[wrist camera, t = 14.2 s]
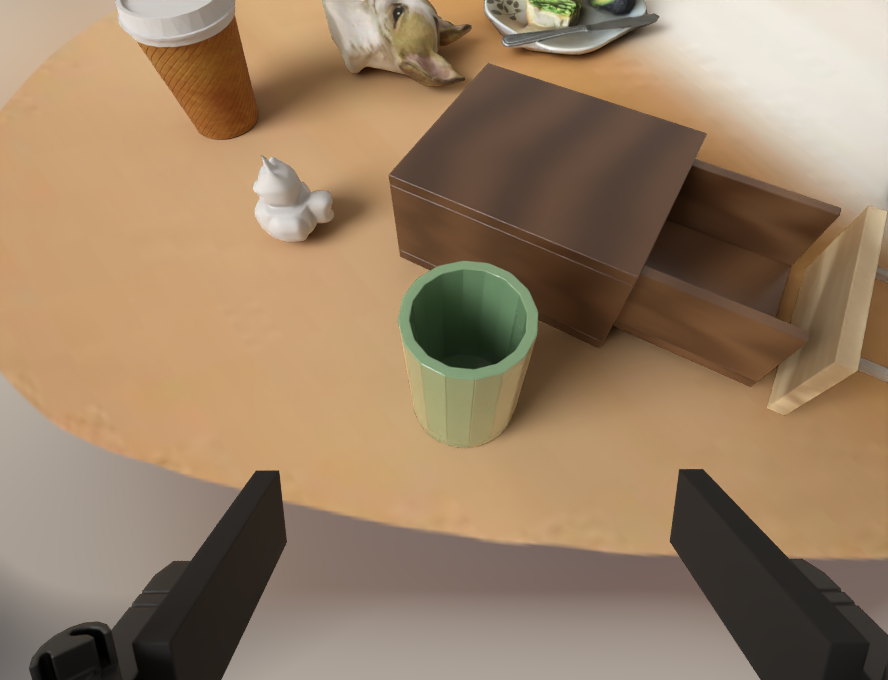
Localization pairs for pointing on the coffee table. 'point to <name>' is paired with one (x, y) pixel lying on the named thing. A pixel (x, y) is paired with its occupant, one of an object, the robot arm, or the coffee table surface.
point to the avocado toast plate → (565, 23)
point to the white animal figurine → (288, 203)
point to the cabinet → (543, 193)
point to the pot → (467, 349)
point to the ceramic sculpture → (394, 37)
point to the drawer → (758, 286)
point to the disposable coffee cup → (196, 59)
